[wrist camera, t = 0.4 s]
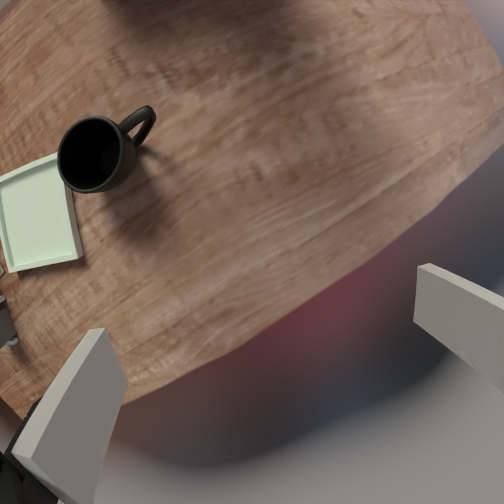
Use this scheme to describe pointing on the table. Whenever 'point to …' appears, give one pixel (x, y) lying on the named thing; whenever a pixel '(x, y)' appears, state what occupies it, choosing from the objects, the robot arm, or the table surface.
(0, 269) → the condiment
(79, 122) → the mug
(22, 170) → the tray
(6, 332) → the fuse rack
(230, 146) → the table surface
